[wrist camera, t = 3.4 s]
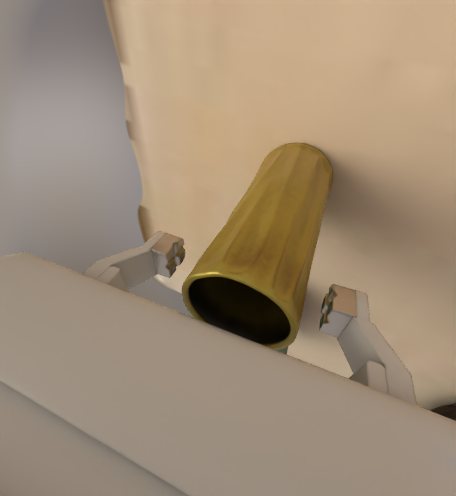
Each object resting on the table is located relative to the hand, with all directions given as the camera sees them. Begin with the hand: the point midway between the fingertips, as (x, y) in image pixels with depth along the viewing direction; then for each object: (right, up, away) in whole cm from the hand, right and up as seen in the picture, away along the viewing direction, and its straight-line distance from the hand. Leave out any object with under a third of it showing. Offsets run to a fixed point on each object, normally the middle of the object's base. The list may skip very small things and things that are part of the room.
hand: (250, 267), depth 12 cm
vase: (+4, +7, +7) cm, 11 cm away
